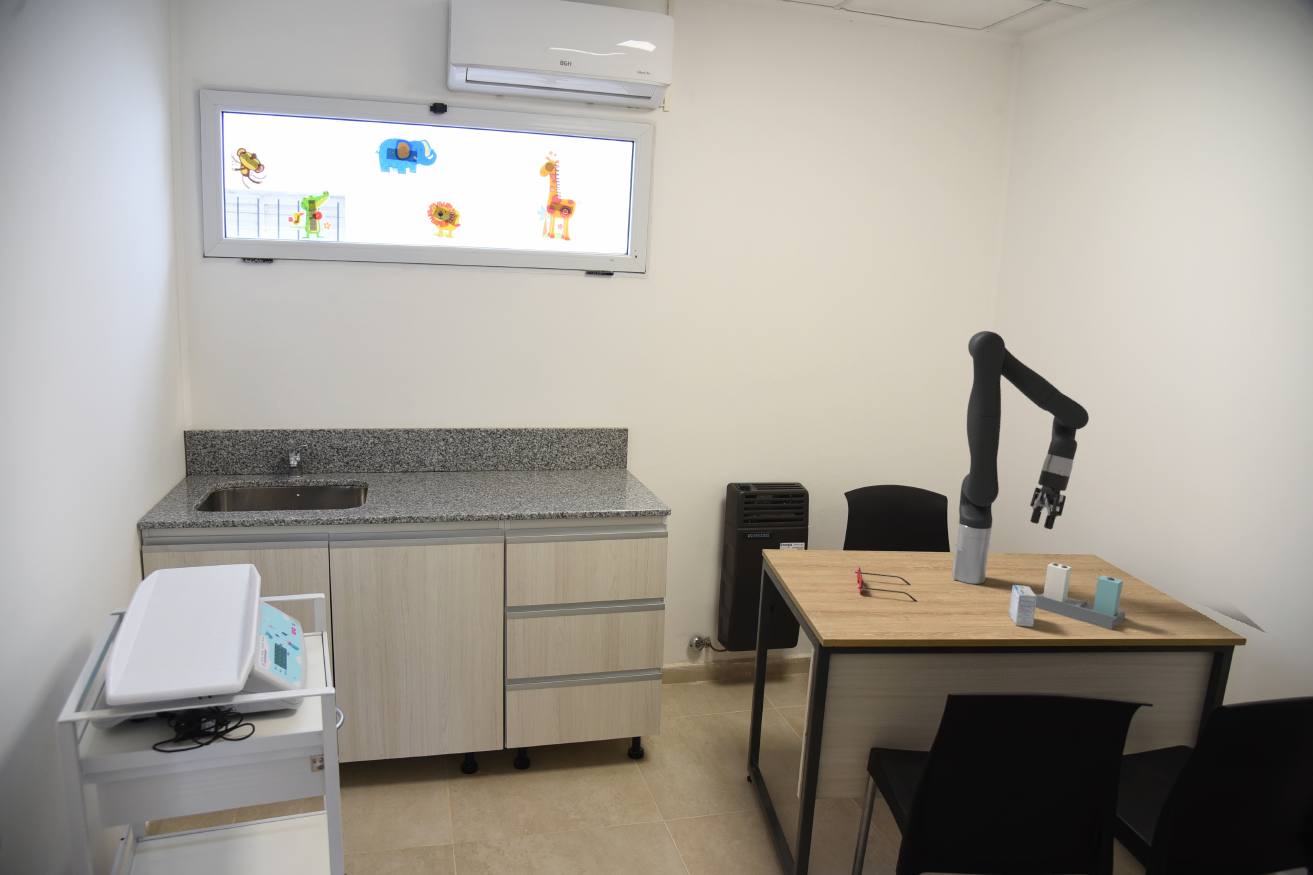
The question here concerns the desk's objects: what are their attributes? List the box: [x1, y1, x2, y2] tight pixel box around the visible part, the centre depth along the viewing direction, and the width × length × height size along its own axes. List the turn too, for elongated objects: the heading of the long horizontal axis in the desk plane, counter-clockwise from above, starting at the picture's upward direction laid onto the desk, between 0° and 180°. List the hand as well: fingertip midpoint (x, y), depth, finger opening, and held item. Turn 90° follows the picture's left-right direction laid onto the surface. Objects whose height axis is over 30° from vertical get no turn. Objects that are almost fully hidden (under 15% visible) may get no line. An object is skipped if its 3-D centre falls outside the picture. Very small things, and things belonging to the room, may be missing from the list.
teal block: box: [1093, 574, 1124, 617], centre depth 215 cm, size 4×5×10 cm
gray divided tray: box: [1034, 592, 1127, 631], centre depth 220 cm, size 12×20×4 cm, turn 45°
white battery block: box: [1043, 562, 1072, 602], centre depth 224 cm, size 4×5×10 cm
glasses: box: [854, 566, 918, 603], centre depth 230 cm, size 14×16×5 cm
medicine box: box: [1008, 584, 1037, 628], centre depth 212 cm, size 8×4×9 cm, turn 168°
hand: (1040, 525), depth 232 cm, fingers open, 8 cm apart
